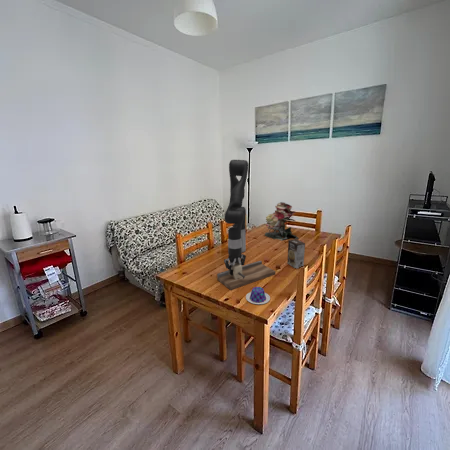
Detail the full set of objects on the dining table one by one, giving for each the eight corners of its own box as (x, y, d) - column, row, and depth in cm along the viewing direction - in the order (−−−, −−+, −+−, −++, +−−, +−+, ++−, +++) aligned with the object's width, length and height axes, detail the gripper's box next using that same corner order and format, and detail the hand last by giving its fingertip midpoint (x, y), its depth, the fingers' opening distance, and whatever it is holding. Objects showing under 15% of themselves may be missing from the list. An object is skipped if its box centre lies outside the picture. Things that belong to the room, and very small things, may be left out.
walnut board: (217, 279, 143) (217, 273, 142) (260, 265, 159) (260, 260, 158) (230, 290, 131) (230, 283, 130) (275, 274, 148) (275, 268, 147)
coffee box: (286, 263, 162) (287, 240, 158) (295, 261, 164) (296, 238, 160) (295, 268, 154) (296, 244, 149) (303, 267, 156) (305, 242, 152)
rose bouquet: (282, 229, 235) (283, 198, 227) (302, 238, 208) (304, 203, 200) (258, 233, 226) (258, 200, 218) (276, 243, 200) (277, 206, 192)
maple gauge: (228, 274, 144) (228, 263, 142) (235, 272, 147) (235, 261, 145) (240, 282, 134) (240, 271, 133) (247, 280, 137) (247, 268, 135)
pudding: (255, 308, 116) (255, 298, 114) (241, 296, 126) (241, 287, 124) (275, 300, 122) (275, 291, 120) (259, 289, 131) (259, 281, 130)
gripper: (241, 241, 144) (241, 268, 149) (220, 246, 137) (221, 274, 142) (249, 245, 138) (249, 272, 143) (227, 250, 131) (228, 279, 136)
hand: (235, 273), depth 142 cm, fingers closed on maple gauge, 4 cm apart
